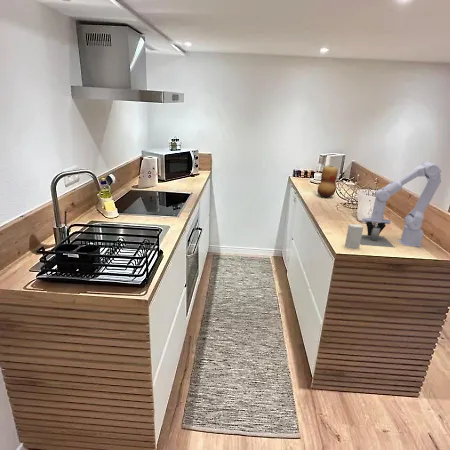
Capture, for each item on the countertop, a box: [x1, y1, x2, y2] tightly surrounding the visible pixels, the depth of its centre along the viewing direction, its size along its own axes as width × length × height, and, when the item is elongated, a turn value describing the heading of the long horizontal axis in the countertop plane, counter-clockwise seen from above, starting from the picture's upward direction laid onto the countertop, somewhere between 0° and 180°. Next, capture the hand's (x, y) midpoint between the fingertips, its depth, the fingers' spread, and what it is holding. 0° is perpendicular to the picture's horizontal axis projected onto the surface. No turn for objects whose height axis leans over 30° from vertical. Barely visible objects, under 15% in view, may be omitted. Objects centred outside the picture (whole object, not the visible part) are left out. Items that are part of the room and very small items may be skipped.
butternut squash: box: [317, 164, 339, 198], centre depth 274 cm, size 14×13×25 cm
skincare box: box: [344, 223, 364, 250], centre depth 176 cm, size 6×4×12 cm
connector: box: [366, 223, 381, 241], centre depth 190 cm, size 4×8×9 cm, turn 178°
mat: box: [360, 234, 396, 248], centre depth 189 cm, size 18×16×1 cm
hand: (373, 235), depth 191 cm, fingers closed on connector, 4 cm apart
